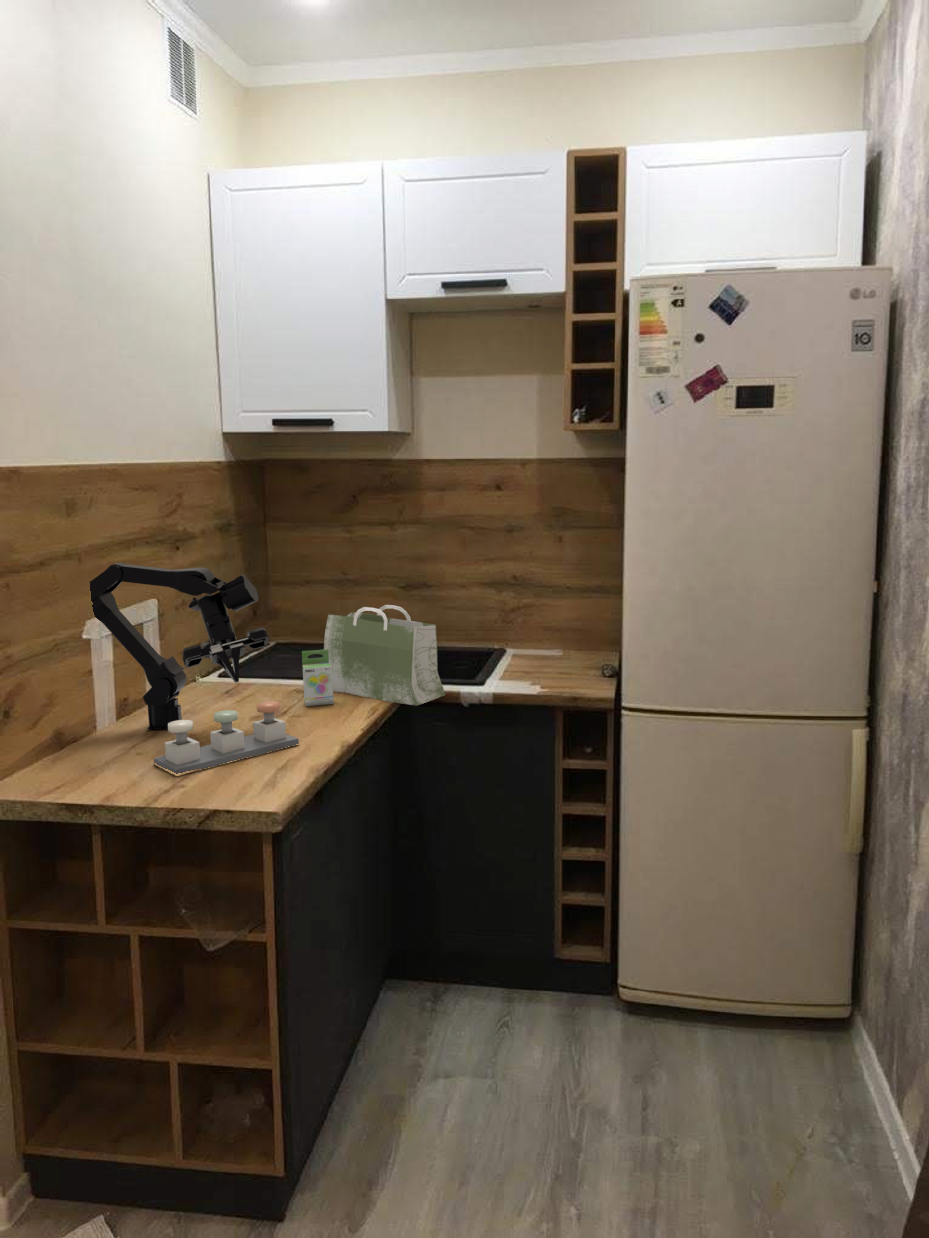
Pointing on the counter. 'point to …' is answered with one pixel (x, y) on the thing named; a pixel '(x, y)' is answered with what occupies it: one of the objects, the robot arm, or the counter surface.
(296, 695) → the counter surface
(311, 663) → the ink box
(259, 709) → the terracotta button
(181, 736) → the cream button
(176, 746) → the console
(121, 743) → the counter surface
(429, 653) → the grocery bag
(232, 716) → the sage button
